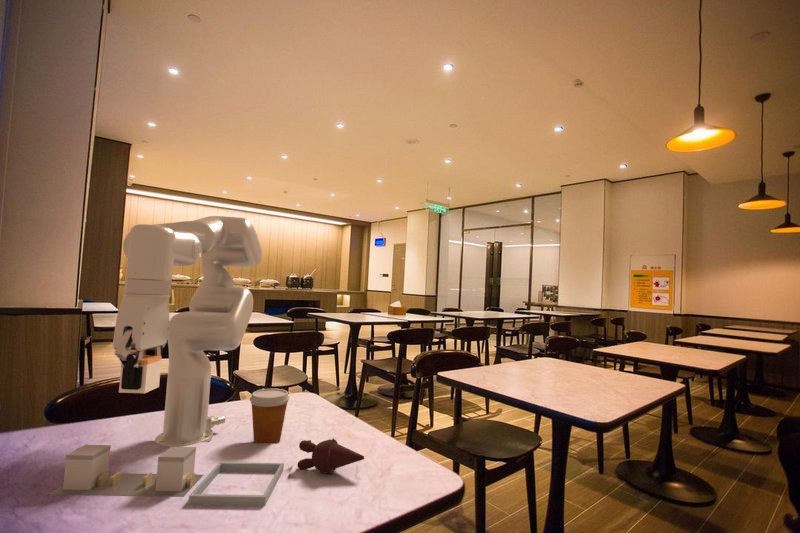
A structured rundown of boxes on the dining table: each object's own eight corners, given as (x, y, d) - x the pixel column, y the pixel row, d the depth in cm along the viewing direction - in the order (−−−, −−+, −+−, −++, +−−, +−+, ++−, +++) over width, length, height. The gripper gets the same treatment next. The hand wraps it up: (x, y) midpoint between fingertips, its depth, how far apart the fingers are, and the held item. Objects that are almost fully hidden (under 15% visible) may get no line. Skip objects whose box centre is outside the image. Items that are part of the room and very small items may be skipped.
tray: (218, 473, 78) (219, 461, 78) (283, 475, 79) (283, 463, 79) (187, 510, 65) (189, 495, 65) (264, 511, 66) (265, 497, 66)
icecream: (369, 437, 85) (306, 435, 88) (359, 441, 78) (292, 439, 81) (368, 472, 83) (304, 469, 85) (358, 479, 76) (288, 475, 79)
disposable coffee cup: (263, 452, 89) (267, 400, 90) (238, 442, 94) (242, 393, 95) (294, 440, 97) (297, 392, 98) (270, 431, 102) (273, 386, 103)
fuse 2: (169, 478, 74) (171, 446, 74) (193, 478, 74) (196, 447, 74) (155, 490, 69) (158, 456, 70) (181, 491, 69) (184, 457, 70)
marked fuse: (134, 386, 74) (137, 355, 75) (159, 386, 75) (161, 355, 75) (118, 392, 70) (121, 359, 70) (144, 393, 70) (147, 360, 70)
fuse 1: (82, 476, 73) (85, 444, 73) (107, 477, 73) (110, 445, 73) (62, 489, 68) (66, 455, 69) (89, 489, 68) (93, 455, 69)
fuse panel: (82, 477, 74) (83, 464, 74) (203, 479, 76) (204, 466, 76) (47, 500, 66) (48, 484, 66) (183, 502, 68) (184, 487, 68)
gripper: (153, 288, 82) (146, 374, 80) (95, 288, 65) (85, 397, 64) (189, 290, 82) (182, 376, 81) (141, 290, 65) (131, 398, 64)
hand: (140, 384), depth 72 cm, fingers closed on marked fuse, 4 cm apart
